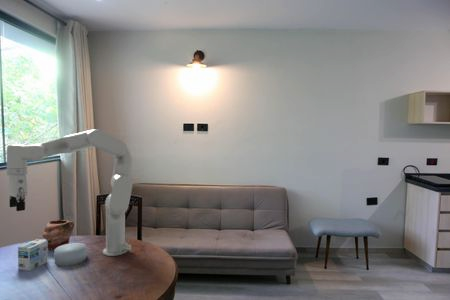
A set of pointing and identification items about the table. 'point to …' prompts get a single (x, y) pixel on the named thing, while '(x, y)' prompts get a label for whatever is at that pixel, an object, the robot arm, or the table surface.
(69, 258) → the smooth grey ovoid
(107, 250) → the robot arm
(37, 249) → the light bulb box
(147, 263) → the table surface
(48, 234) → the orange-brown clay pot
